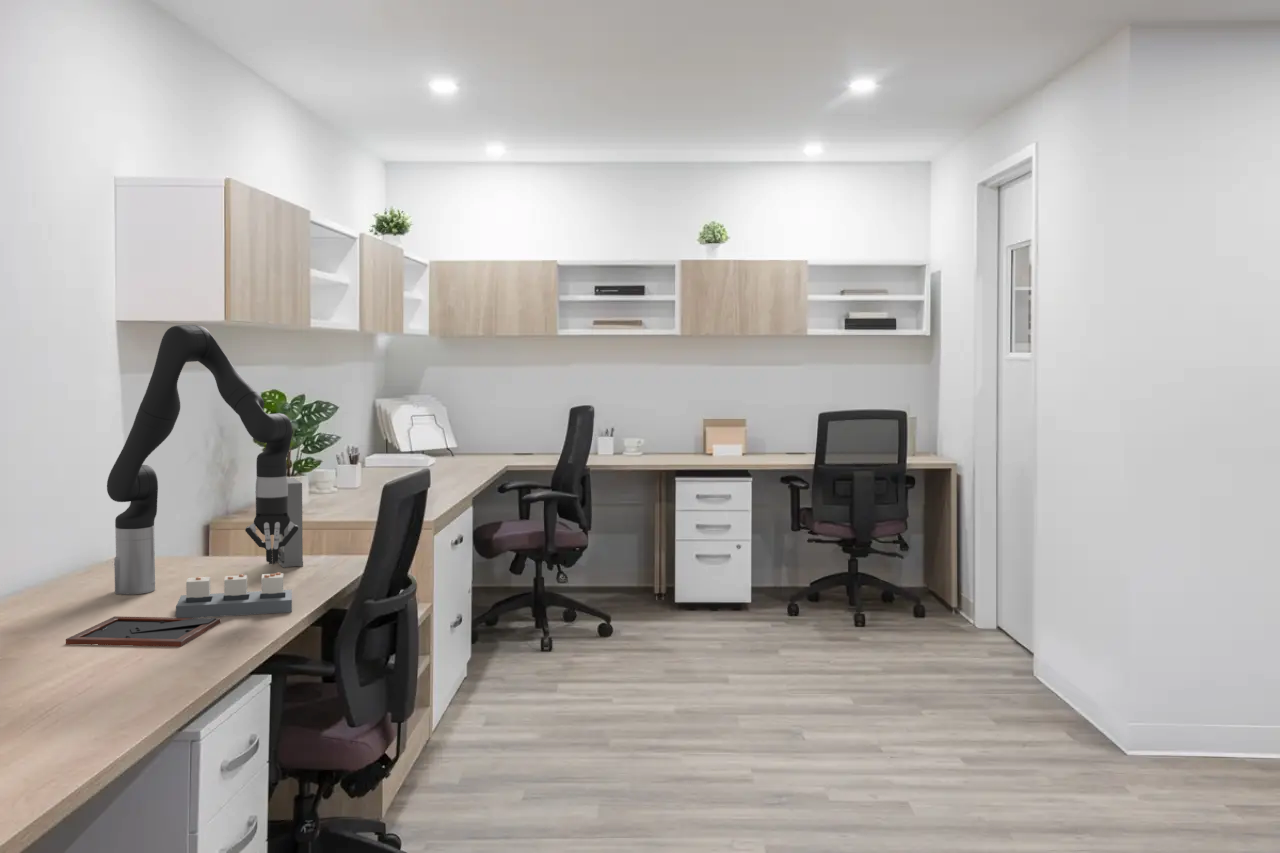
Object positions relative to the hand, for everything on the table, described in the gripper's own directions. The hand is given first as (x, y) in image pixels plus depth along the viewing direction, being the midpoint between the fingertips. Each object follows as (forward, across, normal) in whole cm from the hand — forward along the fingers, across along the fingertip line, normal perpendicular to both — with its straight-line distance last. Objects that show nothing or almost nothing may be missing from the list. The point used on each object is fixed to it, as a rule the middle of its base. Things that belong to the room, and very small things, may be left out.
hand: (272, 563), depth 258 cm
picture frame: (+12, -26, -18) cm, 34 cm away
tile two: (+7, -8, 0) cm, 11 cm away
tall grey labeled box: (+11, +4, +58) cm, 59 cm away
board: (+11, -8, 0) cm, 14 cm away
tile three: (+7, 0, 0) cm, 7 cm away
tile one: (+7, -17, 0) cm, 18 cm away
